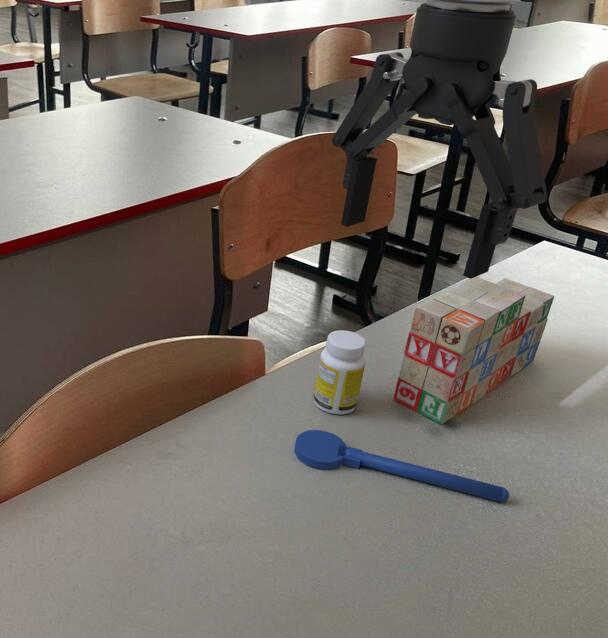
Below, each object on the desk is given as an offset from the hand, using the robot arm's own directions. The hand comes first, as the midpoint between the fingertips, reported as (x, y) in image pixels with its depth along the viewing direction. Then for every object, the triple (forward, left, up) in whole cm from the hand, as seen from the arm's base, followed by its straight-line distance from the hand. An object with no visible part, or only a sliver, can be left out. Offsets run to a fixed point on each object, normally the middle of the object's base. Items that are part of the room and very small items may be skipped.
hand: (410, 247), depth 71 cm
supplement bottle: (+4, -3, -21) cm, 22 cm away
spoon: (-3, +6, -21) cm, 22 cm away
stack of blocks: (-10, -14, -21) cm, 28 cm away
